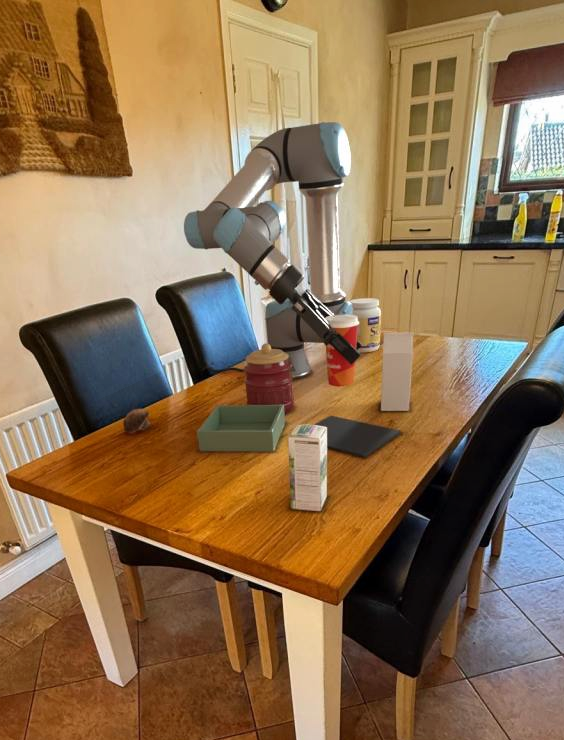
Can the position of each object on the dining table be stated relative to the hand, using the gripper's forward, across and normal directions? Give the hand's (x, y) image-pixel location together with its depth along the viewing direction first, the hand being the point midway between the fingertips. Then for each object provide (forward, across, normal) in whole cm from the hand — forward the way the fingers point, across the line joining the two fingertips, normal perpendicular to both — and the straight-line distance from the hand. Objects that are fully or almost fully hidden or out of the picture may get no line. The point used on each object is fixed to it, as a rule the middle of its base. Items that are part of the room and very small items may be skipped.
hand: (356, 354), depth 111 cm
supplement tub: (+13, -82, -14) cm, 84 cm away
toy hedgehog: (-26, -3, -54) cm, 60 cm away
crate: (-5, 0, -32) cm, 33 cm away
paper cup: (+2, 0, -7) cm, 7 cm away
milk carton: (+20, -20, -7) cm, 29 cm away
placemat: (+12, 0, -15) cm, 19 cm away
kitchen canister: (-3, -19, -30) cm, 36 cm away
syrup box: (+9, +32, -19) cm, 38 cm away
